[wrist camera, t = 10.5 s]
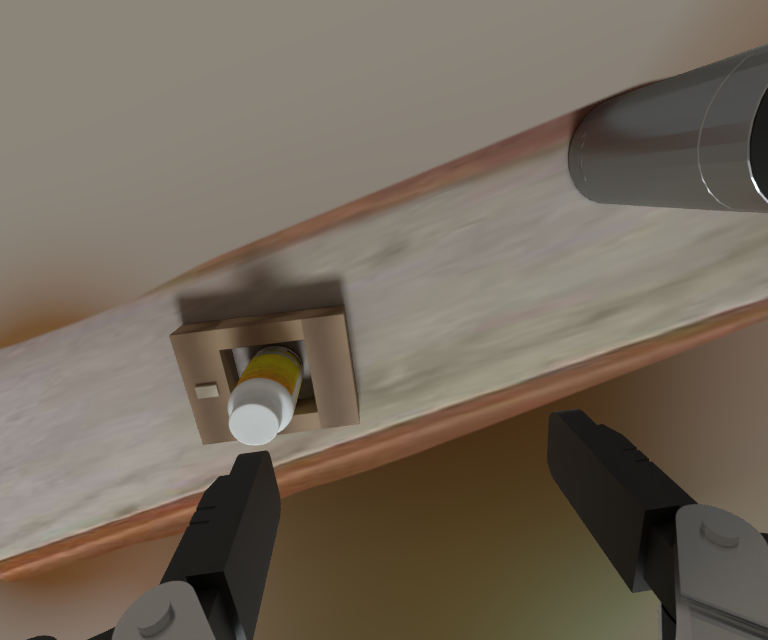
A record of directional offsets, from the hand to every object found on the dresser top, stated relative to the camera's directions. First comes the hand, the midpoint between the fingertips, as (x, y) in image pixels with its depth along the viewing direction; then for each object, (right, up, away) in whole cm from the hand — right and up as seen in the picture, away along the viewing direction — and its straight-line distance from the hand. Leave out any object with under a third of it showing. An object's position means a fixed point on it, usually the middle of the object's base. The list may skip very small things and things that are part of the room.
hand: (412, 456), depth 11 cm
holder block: (-12, -1, +29) cm, 32 cm away
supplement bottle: (-12, -1, +29) cm, 32 cm away
